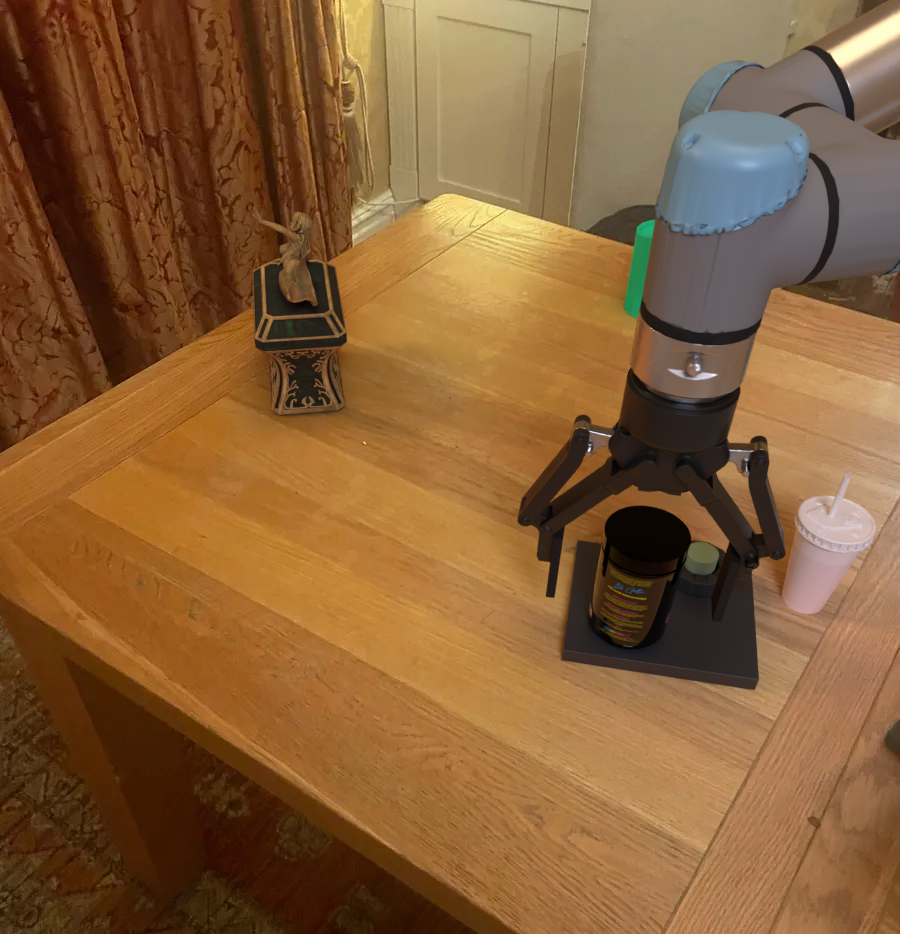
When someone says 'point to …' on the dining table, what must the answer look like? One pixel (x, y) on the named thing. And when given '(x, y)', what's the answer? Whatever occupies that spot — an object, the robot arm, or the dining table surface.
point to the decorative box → (299, 324)
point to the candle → (638, 267)
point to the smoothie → (824, 548)
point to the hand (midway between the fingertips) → (632, 598)
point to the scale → (671, 630)
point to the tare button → (701, 558)
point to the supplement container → (637, 575)
